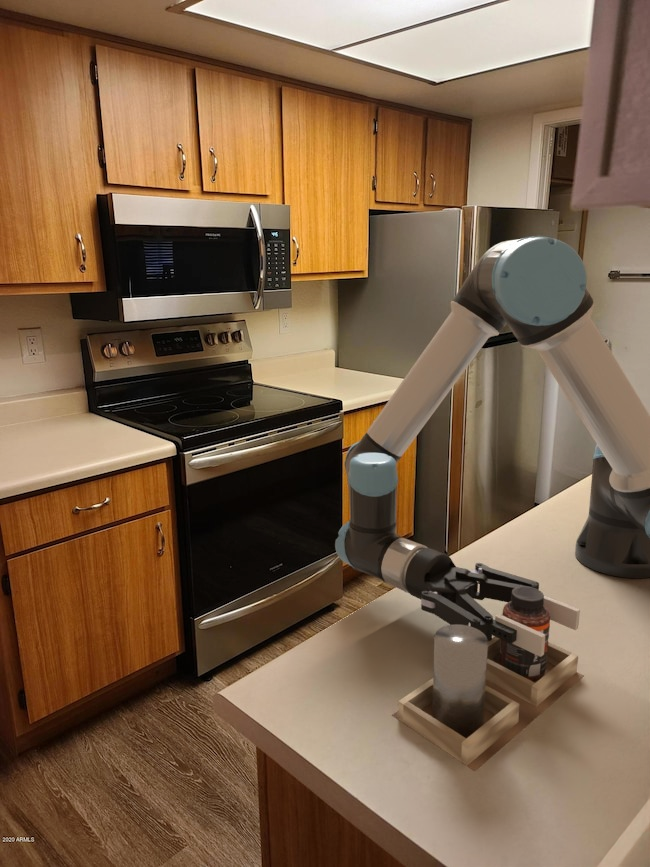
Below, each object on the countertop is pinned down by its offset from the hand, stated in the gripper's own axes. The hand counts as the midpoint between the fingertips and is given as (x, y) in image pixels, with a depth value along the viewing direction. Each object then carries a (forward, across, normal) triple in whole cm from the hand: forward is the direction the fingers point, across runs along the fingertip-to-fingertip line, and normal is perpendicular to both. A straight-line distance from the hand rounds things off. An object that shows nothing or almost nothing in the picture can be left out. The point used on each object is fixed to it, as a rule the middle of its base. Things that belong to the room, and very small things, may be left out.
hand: (560, 632), depth 79 cm
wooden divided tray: (-5, +7, -9) cm, 13 cm away
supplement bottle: (-5, 0, -8) cm, 9 cm away
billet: (-5, +14, -8) cm, 17 cm away
